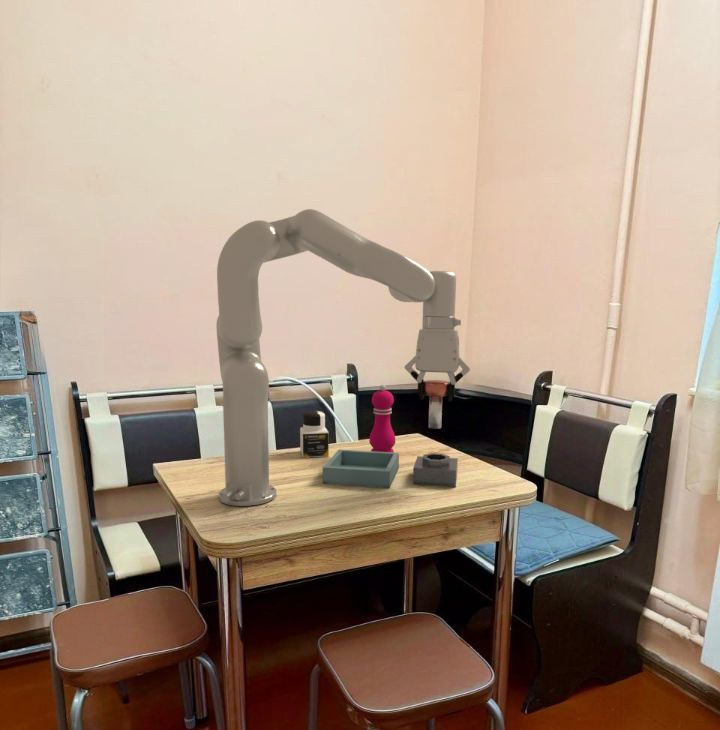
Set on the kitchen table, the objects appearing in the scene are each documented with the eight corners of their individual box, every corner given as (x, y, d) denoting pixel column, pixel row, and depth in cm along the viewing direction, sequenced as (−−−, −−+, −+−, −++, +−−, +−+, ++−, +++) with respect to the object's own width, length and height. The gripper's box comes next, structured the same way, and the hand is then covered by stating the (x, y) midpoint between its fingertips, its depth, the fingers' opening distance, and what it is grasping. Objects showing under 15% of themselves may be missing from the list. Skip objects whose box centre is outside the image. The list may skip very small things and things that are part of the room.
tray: (389, 488, 135) (389, 471, 134) (322, 483, 138) (322, 467, 137) (398, 467, 150) (399, 452, 150) (338, 464, 153) (338, 449, 153)
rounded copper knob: (448, 425, 142) (449, 380, 141) (446, 430, 136) (448, 384, 135) (423, 423, 143) (424, 379, 142) (421, 429, 137) (422, 383, 136)
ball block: (455, 487, 136) (456, 464, 135) (412, 484, 138) (413, 461, 137) (457, 474, 145) (457, 452, 145) (417, 471, 147) (417, 450, 147)
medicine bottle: (303, 458, 159) (302, 415, 157) (300, 451, 166) (299, 410, 164) (328, 456, 160) (328, 414, 159) (325, 450, 167) (324, 409, 166)
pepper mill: (399, 454, 162) (400, 384, 160) (387, 461, 156) (387, 387, 154) (377, 451, 166) (378, 382, 164) (364, 457, 160) (364, 385, 158)
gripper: (475, 324, 139) (472, 398, 141) (404, 322, 142) (402, 395, 144) (475, 326, 131) (472, 404, 134) (399, 323, 135) (397, 400, 137)
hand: (435, 398), depth 139 cm, fingers closed on rounded copper knob, 6 cm apart
